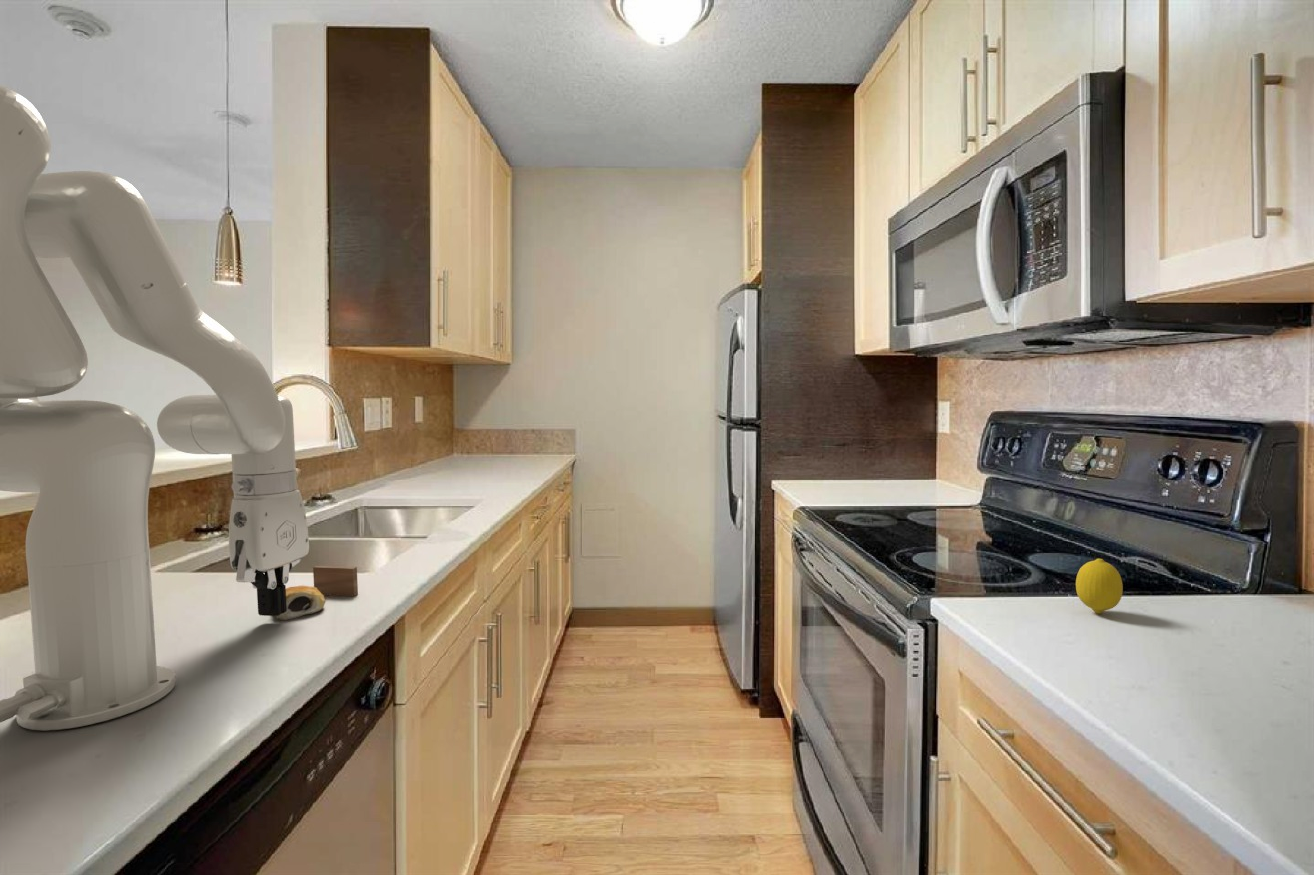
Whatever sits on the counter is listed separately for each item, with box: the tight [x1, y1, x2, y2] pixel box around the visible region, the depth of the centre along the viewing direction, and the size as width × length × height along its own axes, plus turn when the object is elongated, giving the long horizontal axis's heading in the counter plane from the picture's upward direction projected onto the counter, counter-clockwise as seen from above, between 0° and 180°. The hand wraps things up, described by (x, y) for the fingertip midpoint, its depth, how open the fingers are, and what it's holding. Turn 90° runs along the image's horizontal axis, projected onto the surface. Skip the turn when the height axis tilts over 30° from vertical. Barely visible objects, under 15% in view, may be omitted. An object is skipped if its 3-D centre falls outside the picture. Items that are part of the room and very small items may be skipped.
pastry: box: [276, 584, 326, 621], centre depth 97 cm, size 9×7×4 cm
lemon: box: [1075, 558, 1124, 615], centre depth 92 cm, size 6×6×8 cm
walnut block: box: [312, 565, 359, 597], centre depth 103 cm, size 1×7×4 cm, turn 82°
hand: (272, 613), depth 90 cm, fingers closed
